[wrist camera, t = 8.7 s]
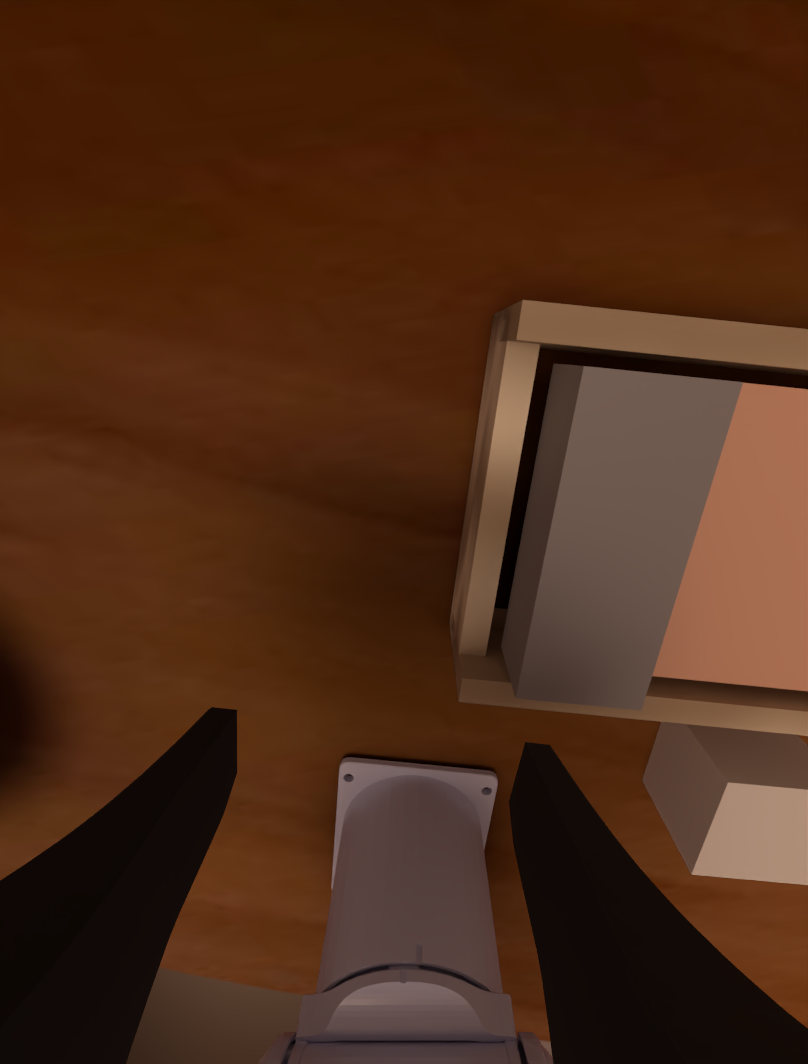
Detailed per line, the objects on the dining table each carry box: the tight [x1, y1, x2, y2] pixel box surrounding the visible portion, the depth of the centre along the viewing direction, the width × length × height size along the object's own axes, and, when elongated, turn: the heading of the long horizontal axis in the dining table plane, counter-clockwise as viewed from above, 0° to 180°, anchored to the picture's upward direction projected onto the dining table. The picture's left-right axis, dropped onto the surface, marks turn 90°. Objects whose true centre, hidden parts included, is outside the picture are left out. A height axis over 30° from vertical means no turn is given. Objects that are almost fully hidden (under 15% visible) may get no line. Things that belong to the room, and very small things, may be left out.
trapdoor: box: [501, 363, 808, 711], centre depth 16 cm, size 10×14×3 cm
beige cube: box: [642, 722, 808, 885], centre depth 23 cm, size 5×5×5 cm
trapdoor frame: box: [449, 300, 808, 736], centre depth 18 cm, size 13×16×6 cm
